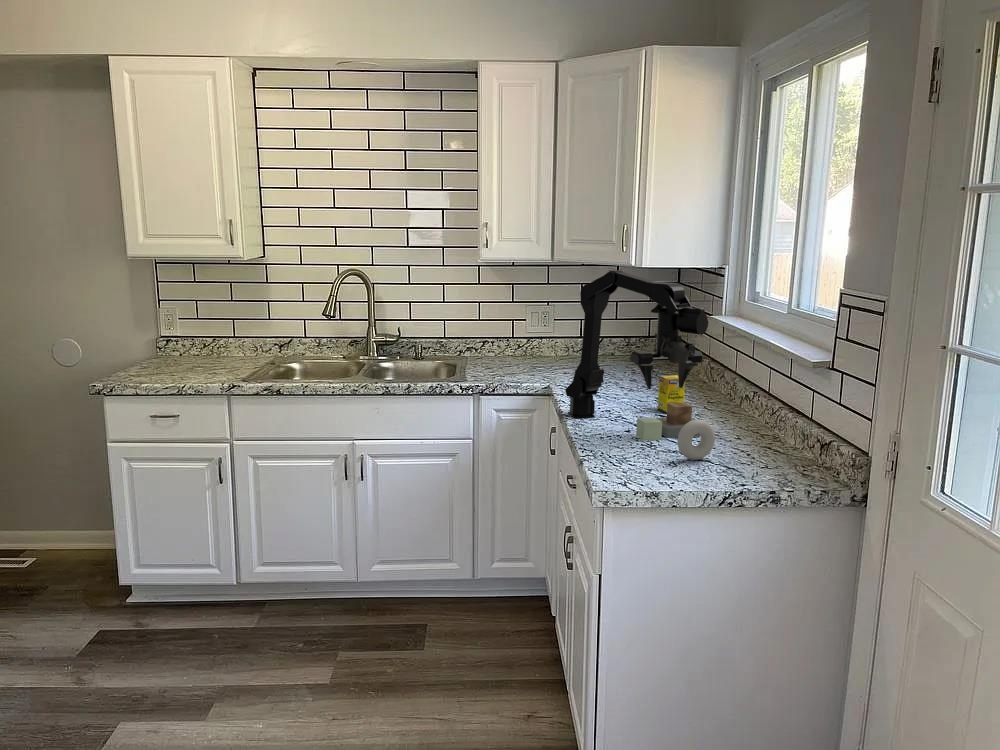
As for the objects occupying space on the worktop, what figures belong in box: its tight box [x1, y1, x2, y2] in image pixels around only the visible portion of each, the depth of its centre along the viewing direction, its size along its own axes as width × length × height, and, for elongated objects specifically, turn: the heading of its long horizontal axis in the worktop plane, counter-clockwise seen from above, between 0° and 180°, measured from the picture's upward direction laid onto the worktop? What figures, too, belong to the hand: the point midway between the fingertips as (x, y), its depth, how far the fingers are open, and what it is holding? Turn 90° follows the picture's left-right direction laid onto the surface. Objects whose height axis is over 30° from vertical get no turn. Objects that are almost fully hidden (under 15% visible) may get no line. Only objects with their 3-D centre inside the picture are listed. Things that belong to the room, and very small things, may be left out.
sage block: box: [635, 417, 662, 442], centre depth 204 cm, size 5×5×5 cm
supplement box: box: [657, 374, 686, 415], centre depth 234 cm, size 6×6×11 cm
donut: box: [677, 419, 716, 461], centre depth 184 cm, size 10×3×10 cm, turn 110°
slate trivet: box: [655, 416, 701, 439], centre depth 212 cm, size 12×12×2 cm
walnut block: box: [666, 401, 693, 425], centre depth 211 cm, size 5×5×5 cm
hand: (664, 388), depth 206 cm, fingers open, 9 cm apart
